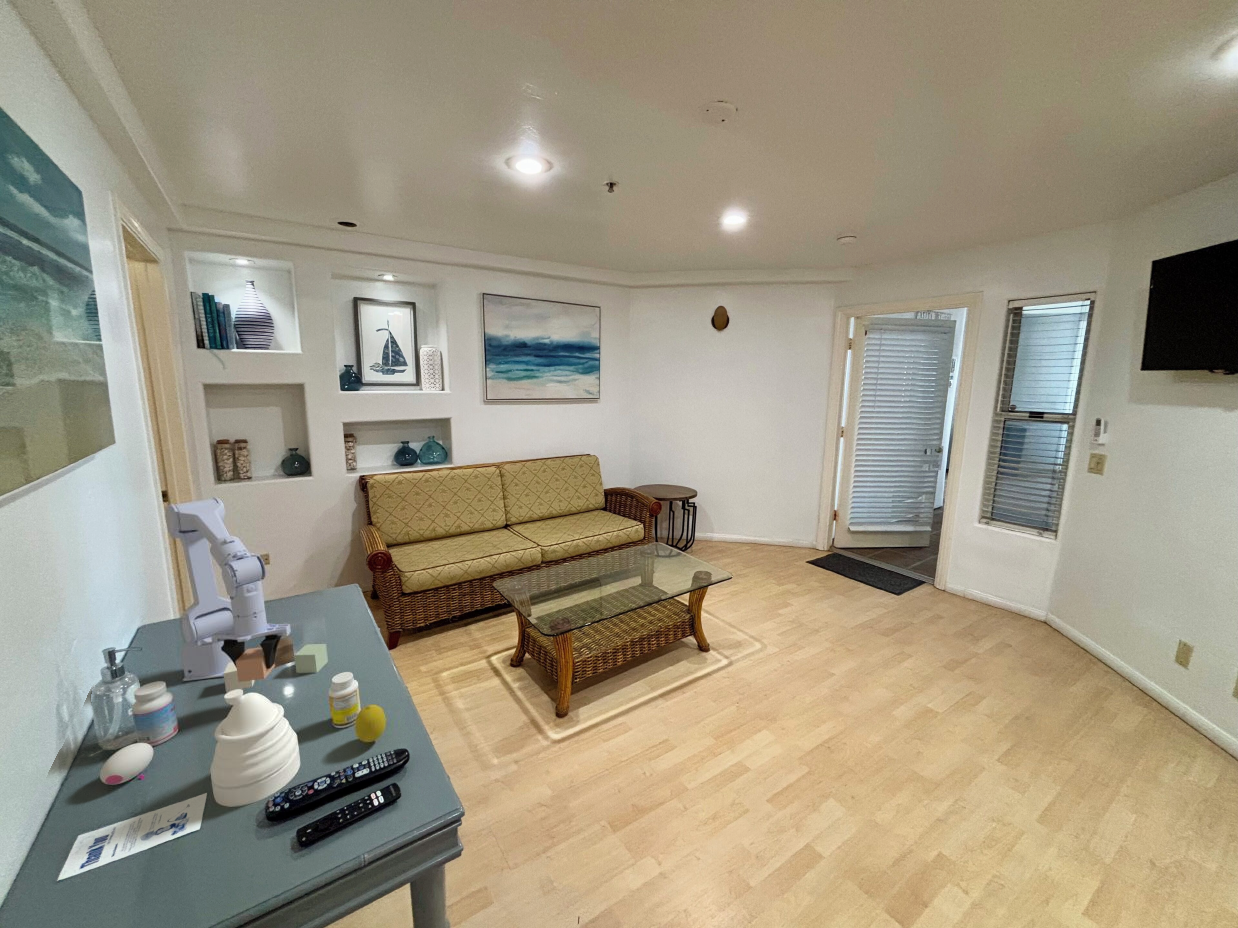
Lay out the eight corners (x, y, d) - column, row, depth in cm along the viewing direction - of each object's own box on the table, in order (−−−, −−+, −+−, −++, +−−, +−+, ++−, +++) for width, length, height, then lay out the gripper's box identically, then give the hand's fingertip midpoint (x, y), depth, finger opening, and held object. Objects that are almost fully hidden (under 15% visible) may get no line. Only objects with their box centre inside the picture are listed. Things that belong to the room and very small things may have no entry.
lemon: (356, 755, 94) (352, 718, 93) (356, 737, 99) (353, 701, 98) (387, 745, 97) (384, 709, 96) (386, 728, 102) (383, 693, 100)
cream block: (226, 692, 114) (223, 673, 113) (231, 681, 118) (228, 662, 117) (252, 686, 116) (249, 667, 115) (256, 675, 120) (254, 657, 120)
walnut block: (271, 668, 123) (269, 650, 123) (268, 660, 127) (266, 643, 126) (294, 661, 127) (292, 643, 126) (291, 653, 130) (289, 636, 130)
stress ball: (143, 776, 93) (121, 749, 93) (172, 756, 93) (150, 729, 92) (99, 809, 86) (75, 779, 86) (130, 787, 85) (106, 757, 85)
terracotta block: (238, 681, 106) (235, 660, 105) (250, 668, 111) (247, 648, 110) (264, 678, 107) (261, 658, 106) (274, 666, 112) (272, 646, 111)
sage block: (296, 673, 121) (294, 655, 121) (308, 662, 126) (306, 644, 126) (317, 672, 122) (314, 654, 121) (328, 661, 127) (326, 643, 126)
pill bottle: (184, 732, 101) (176, 683, 99) (147, 752, 95) (137, 700, 93) (169, 723, 103) (161, 675, 101) (131, 742, 98) (122, 692, 96)
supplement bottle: (340, 712, 107) (336, 669, 105) (366, 711, 107) (362, 668, 105) (326, 729, 101) (321, 685, 100) (353, 729, 102) (349, 684, 100)
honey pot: (232, 819, 81) (217, 721, 78) (201, 785, 87) (187, 695, 84) (313, 767, 91) (303, 680, 88) (281, 741, 98) (270, 659, 95)
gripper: (199, 623, 101) (208, 682, 103) (277, 616, 104) (284, 673, 107) (218, 608, 108) (226, 664, 110) (291, 601, 111) (298, 656, 113)
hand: (256, 667), depth 109 cm, fingers closed on terracotta block, 5 cm apart
